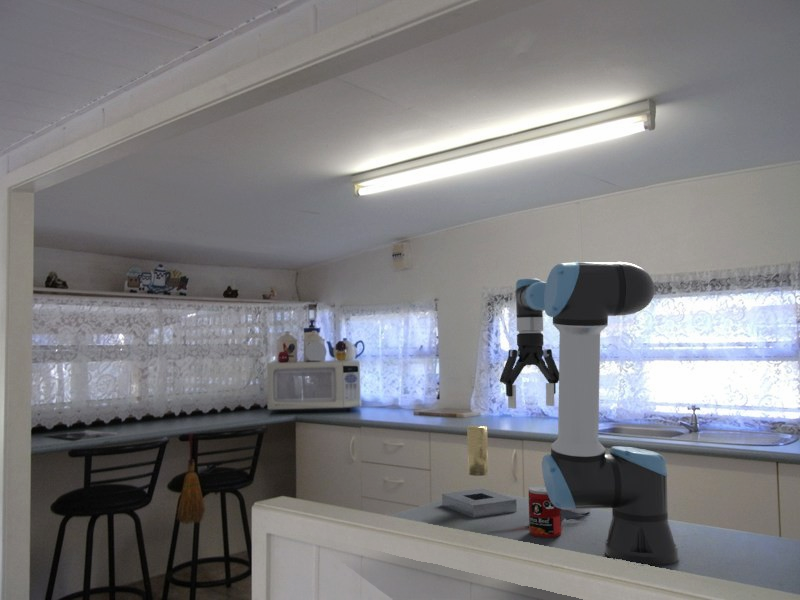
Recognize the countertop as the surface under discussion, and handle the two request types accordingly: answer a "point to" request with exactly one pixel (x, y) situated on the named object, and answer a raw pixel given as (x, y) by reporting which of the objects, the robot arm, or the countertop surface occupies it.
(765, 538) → the countertop surface
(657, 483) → the robot arm
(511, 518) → the countertop surface
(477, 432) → the cream rounded cylinder
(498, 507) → the housing
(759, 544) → the countertop surface
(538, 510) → the canned food
